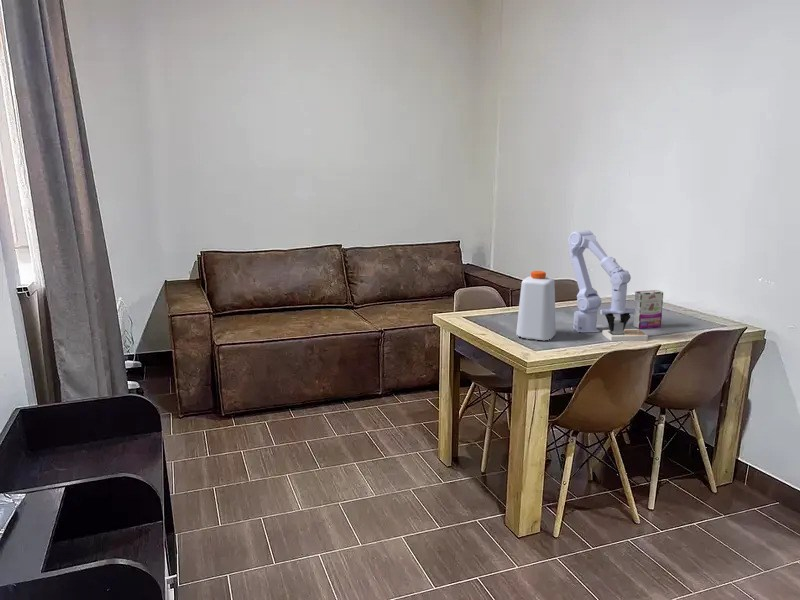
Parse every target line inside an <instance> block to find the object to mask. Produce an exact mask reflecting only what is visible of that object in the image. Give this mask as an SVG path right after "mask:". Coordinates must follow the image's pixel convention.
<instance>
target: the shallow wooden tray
mask: <svg viewBox="0 0 800 600" xmlns="http://www.w3.org/2000/svg"><path fill="white" fill-rule="evenodd" d="M601 334H602V335H603V336H604V337H605V338H606V339H607V340H610V342H633V341H639V342H641V341H648V340H649V335H647V334H646V333H645V332H643V331H641V329H638V328H633V329H630V328H629V329H628V328H627V329H625V328H624V331H623V335H612V334H610V330H609V329H602V332H601ZM640 340H641V341H640Z"/></svg>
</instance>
